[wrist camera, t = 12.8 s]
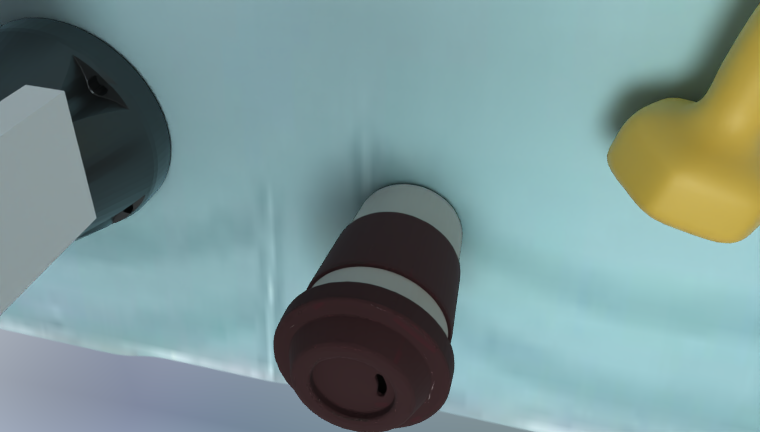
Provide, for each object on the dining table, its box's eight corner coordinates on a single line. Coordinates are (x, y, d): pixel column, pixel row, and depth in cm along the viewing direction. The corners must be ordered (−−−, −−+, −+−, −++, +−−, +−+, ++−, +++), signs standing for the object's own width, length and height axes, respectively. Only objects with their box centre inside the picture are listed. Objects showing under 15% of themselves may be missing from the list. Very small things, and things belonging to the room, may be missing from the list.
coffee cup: (319, 233, 51) (234, 391, 39) (384, 136, 45) (308, 288, 33) (433, 302, 52) (385, 476, 40) (512, 216, 46) (483, 392, 34)
